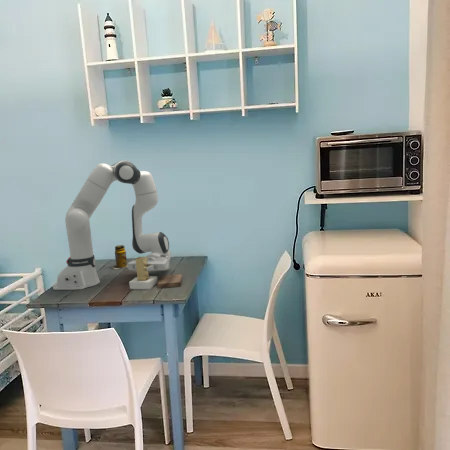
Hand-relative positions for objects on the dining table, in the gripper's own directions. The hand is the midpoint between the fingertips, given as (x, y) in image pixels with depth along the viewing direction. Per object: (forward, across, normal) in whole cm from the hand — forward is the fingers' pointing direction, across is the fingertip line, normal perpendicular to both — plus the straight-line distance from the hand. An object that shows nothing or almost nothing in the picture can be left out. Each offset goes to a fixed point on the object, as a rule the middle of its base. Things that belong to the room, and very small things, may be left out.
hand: (141, 269), depth 224 cm
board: (-6, +11, +8) cm, 16 cm away
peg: (-1, 0, +8) cm, 8 cm away
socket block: (-1, 0, +8) cm, 8 cm away
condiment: (-34, -30, +9) cm, 47 cm away
